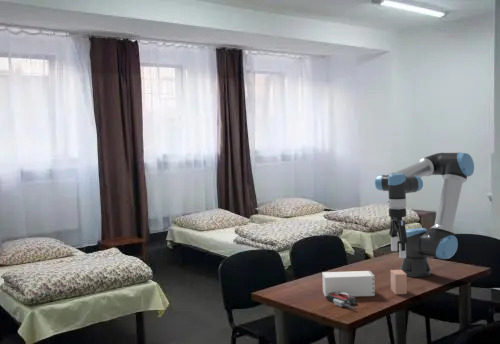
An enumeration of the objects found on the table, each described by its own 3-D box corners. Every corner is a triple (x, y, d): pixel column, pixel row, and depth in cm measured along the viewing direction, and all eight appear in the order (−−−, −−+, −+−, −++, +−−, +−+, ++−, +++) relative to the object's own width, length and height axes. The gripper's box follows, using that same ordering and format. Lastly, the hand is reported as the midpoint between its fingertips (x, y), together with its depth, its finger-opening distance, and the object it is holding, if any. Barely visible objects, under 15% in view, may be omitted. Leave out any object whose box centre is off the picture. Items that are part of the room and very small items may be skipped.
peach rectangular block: (401, 288, 239) (401, 269, 238) (406, 293, 231) (406, 274, 230) (390, 289, 239) (390, 270, 238) (395, 294, 231) (395, 274, 230)
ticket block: (370, 289, 239) (369, 270, 239) (374, 295, 230) (374, 275, 230) (322, 291, 239) (322, 272, 239) (325, 297, 230) (325, 277, 230)
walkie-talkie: (321, 301, 227) (354, 313, 210) (321, 291, 226) (354, 302, 210) (336, 297, 232) (369, 308, 215) (336, 287, 231) (369, 298, 215)
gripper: (382, 204, 245) (383, 248, 246) (396, 212, 220) (397, 261, 221) (397, 203, 245) (398, 248, 246) (414, 211, 220) (415, 260, 221)
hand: (398, 254), depth 234 cm, fingers open, 13 cm apart
